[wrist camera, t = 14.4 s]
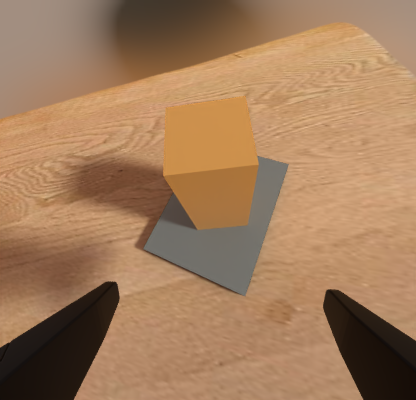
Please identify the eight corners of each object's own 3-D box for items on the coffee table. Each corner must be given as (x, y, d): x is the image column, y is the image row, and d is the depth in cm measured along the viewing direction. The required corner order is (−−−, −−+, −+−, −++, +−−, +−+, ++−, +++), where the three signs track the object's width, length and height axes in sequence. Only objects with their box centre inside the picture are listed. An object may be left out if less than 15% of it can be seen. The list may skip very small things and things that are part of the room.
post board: (244, 295, 20) (246, 297, 16) (146, 250, 24) (128, 242, 20) (286, 168, 26) (296, 145, 22) (201, 145, 29) (196, 121, 25)
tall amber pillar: (247, 225, 22) (258, 164, 11) (197, 229, 23) (163, 175, 12) (241, 181, 25) (245, 95, 14) (195, 186, 25) (165, 107, 14)
